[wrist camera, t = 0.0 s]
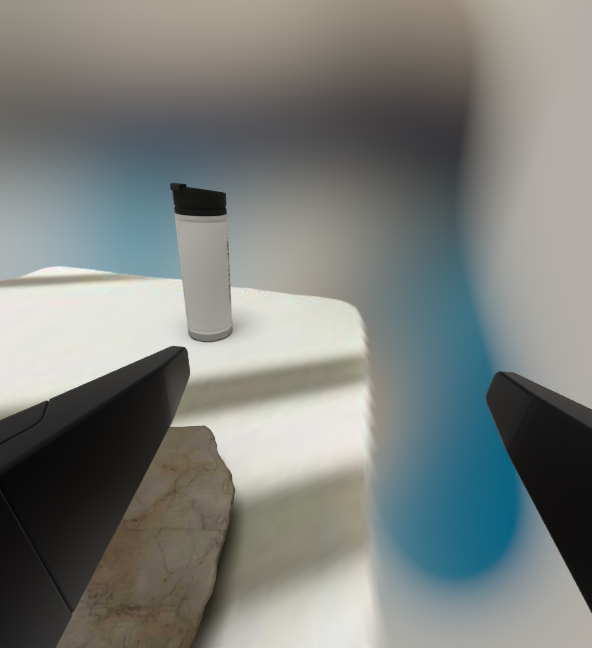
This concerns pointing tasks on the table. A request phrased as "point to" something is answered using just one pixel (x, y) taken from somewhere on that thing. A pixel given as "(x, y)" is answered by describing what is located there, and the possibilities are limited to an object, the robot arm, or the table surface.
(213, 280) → the travel mug
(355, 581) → the table surface
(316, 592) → the table surface
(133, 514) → the marble piece
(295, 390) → the table surface
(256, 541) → the table surface
